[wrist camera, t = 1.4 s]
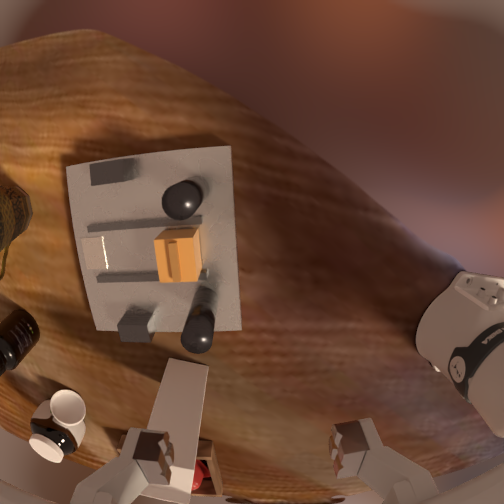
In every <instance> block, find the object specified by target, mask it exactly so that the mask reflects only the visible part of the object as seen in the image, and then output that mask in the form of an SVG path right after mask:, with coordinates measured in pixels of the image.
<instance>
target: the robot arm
mask: <svg viewBox="0 0 504 504" xmlns="http://www.w3.org/2000/svg"><path fill="white" fill-rule="evenodd" d="M416 347H417V350H418V352H419V353H420V355H421V356H423V357H424V358H425V359H427V360H428V361H430V362H431V364H432V366H433V368H434V369H435V370H436V371H438V372H439V371H441V372H442V373H443V374H444V375H445V376H446V377H447V378H448V379H449V380H450V381H451V382H452V383H453V384H454V385H455V387H456V389H457V390H458V391H459V393H460V394H461V396H462V397H463V398H464V399H465V400H466V401H467V402H468V403H470V404H473V406H474V407H475V408H476V410H477V411H478V412H479V414H480V415H481V417H482V418H483V419H484V421H485V422H486V423H487V425H488V426H489V428H490V429H491V430H492V432H493V433H494V434H495V435H496V436H498V437H503V438H504V278H503V277H497V276H490V275H484V274H478V273H472V272H466V271H461V272H459V273H458V274H457V275H456V277H455V278H454V280H453V281H452V283H451V284H450V286H449V287H448V288H447V289H446V290H445V291H444V292H443V293H441V294H440V295H439V296H438V297H437V298H436V299H435V300H434V301H433V302H432V303H431V304H430V306H429V307H428V308H427V310H426V311H425V313H424V315H423V317H422V319H421V321H420V323H419V326H418V329H417V333H416ZM331 431H332V435H331V436H330V439H329V452H330V456H331V458H332V459H333V460H335V461H334V465H333V468H334V471H335V475H336V479H339V478H345V477H351V476H356V475H357V477H358V478H360V479H361V480H362V481H363V482H364V483H365V484H367V485H368V486H369V487H370V488H371V489H373V490H374V491H375V492H376V493H377V494H379V495H380V496H381V497H382V498H383V499H385V500H384V501H383V503H382V504H504V463H502V464H500V465H498V466H496V467H495V468H493V469H491V470H489V471H487V472H486V473H484V474H482V475H480V476H478V477H476V478H474V479H472V480H470V481H468V482H466V483H464V484H461V485H459V486H457V487H455V488H453V489H450V490H448V491H446V492H443V493H441V494H440V493H439V491H438V489H437V487H436V485H435V483H434V481H433V478H432V476H431V474H430V472H429V471H428V470H426V469H424V468H422V467H421V466H419V465H417V464H416V463H414V462H412V461H410V460H409V459H407V458H405V457H404V456H402V455H400V454H399V453H397V452H396V451H394V450H392V449H391V448H389V447H387V446H385V447H383V444H382V442H381V440H380V437H379V435H378V433H377V430H376V428H375V426H374V424H373V421H372V419H371V418H366V419H361V420H354V421H349V422H343V423H338V424H333V425H332V429H331ZM169 438H170V436H169V434H168V432H167V431H157V430H148V429H139V428H130V429H129V430H128V433H127V436H126V439H125V441H124V444H123V447H122V450H121V453H120V456H119V457H115V458H114V459H112V460H111V461H110V462H108V463H107V464H105V465H104V466H103V467H101V468H100V469H98V470H97V471H96V472H94V473H93V474H91V475H90V476H89V477H87V478H86V479H84V480H83V481H81V482H80V483H79V484H77V486H76V489H75V491H74V494H73V497H72V499H71V502H70V504H131V502H133V501H134V499H136V497H138V496H139V494H140V493H141V492H142V491H143V490H144V489H145V488H146V487H147V486H148V485H149V484H159V485H170V479H171V474H172V472H171V470H170V466H172V465H173V463H174V447H173V444H172V443H171V442H170V441H169ZM0 504H57V503H53V502H51V501H48V500H46V499H43V498H41V497H38V496H36V495H33V494H31V493H29V492H26V491H24V490H21V489H19V488H17V487H15V486H13V485H11V484H9V483H7V482H5V481H3V480H1V479H0Z"/></svg>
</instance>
